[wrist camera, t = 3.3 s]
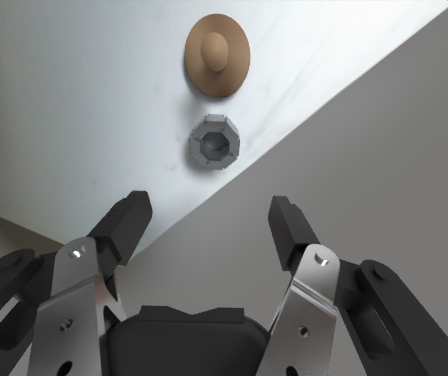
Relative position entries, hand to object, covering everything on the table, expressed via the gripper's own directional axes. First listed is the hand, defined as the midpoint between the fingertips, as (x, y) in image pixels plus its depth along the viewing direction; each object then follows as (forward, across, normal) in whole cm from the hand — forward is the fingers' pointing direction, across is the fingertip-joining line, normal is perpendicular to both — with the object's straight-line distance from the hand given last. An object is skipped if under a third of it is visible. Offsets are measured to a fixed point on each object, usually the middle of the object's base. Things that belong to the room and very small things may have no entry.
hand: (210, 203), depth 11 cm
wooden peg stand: (+15, 0, -8) cm, 17 cm away
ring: (+15, 0, 0) cm, 15 cm away
